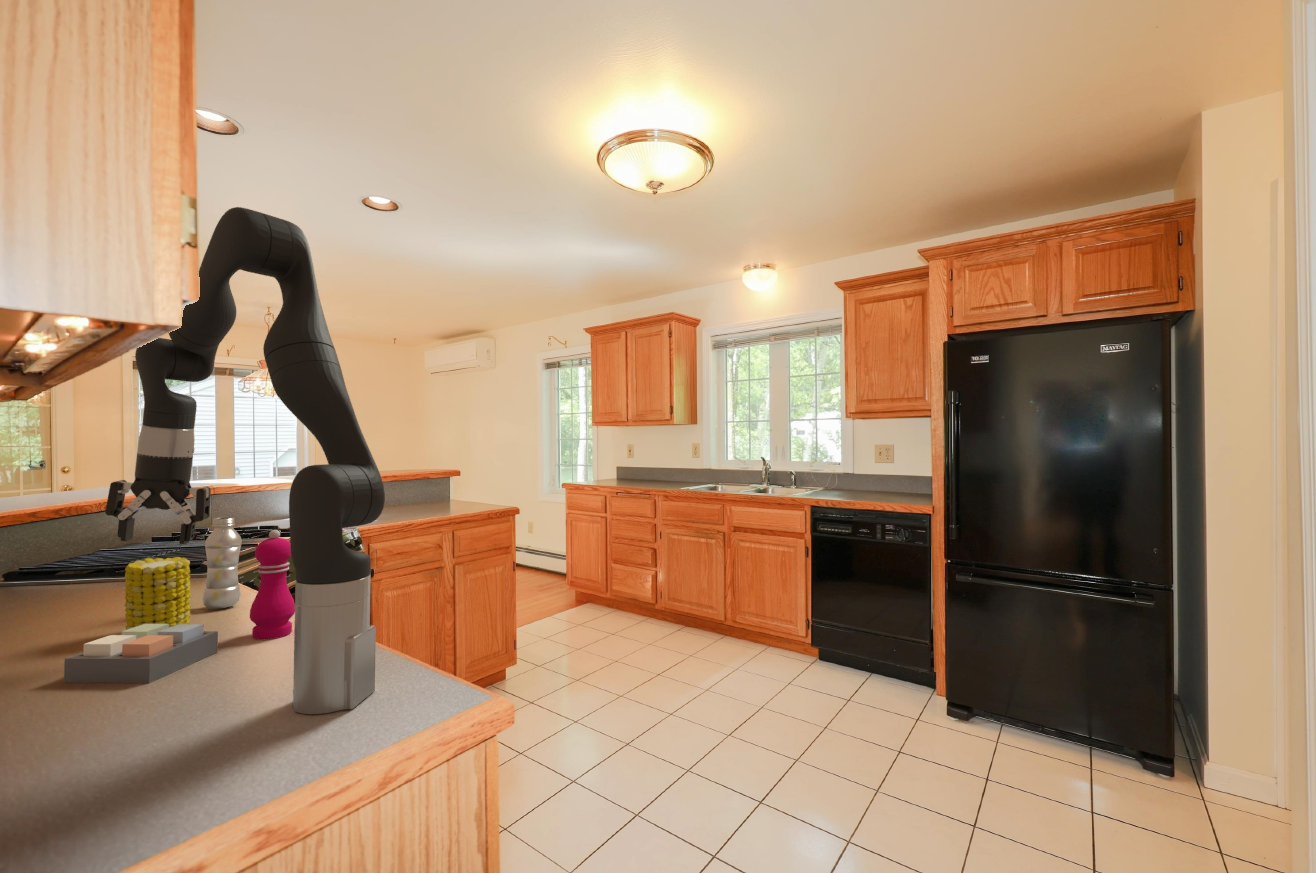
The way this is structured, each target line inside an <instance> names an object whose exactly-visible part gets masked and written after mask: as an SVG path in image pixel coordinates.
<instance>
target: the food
mask: <svg viewBox="0 0 1316 873" xmlns="http://www.w3.org/2000/svg"><path fill="white" fill-rule="evenodd" d="M190 564H191V561H190V560H189V559H188V558H186V557H180V556H175V557H172V558H171V557H167V558H161V557H159V558H158V557H156V558H150V557H149V558H144V559H143V560H135V561H133V562H131V563H128V565H126V567H125V569H124V570H125V573H124V578H125V582H124V584H125V589H124V591H125V596H124V600H125V602H124V605H123V606H124V607H125V610H124V611H125V622H126V625H125V626H124V627H125V630H127V629H131V628H134V627H137V626H140V625H143V624H169V627H172V626H175V625H178V624H190V622H191V616H192V614H191V612H192V611H191V610H190V609H191V605H190V603H191V600H192V599H191V598H190V597H191V596H192V593H191V589H192V587H191V584H192V583H191V581H190V580H191V575H190V574H191V570H190V569H191V568H190Z"/></svg>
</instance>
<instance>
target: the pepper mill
mask: <svg viewBox="0 0 1316 873" xmlns="http://www.w3.org/2000/svg"><path fill="white" fill-rule="evenodd" d="M268 537H269V538H267V539H263V540H262V541H261V542H259V543H258V545H257V546H256V548H255V551H254V557H255V559H256V561H258V562H259V563H260V564H258V565H257V567H258V570H257V573H258V574H260V575H259V576H260V582H259V587H258V591H257V592H256V593H257V594H256V595H255V597H254V599H253V602H252V603H251V607H250V610H249V619H250V621H251V622H252V623H253V624H254V625H255V626H253V628H252V629H251V630H252V632H251V638H253V640H259V641H265V640H266V641H267V640H275V639H279V638H282V637H287V636H288V635H290V634H291V633H292V632H293V622H291V621H290V619H291V618H292V617H293V616H295V598H293V596H292V594H291V592H290V589H289V587H288V583H287V580H288V579H287V572H288V570H290V566H289V565H290V564H291V563H290V562H289V561H288V560H289V559H290V558H292V557H291V546H290V540H288V539H286V538H283V537H281V532H280V531H279V530H278V529H272V530H270V532H269V533H268Z"/></svg>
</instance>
